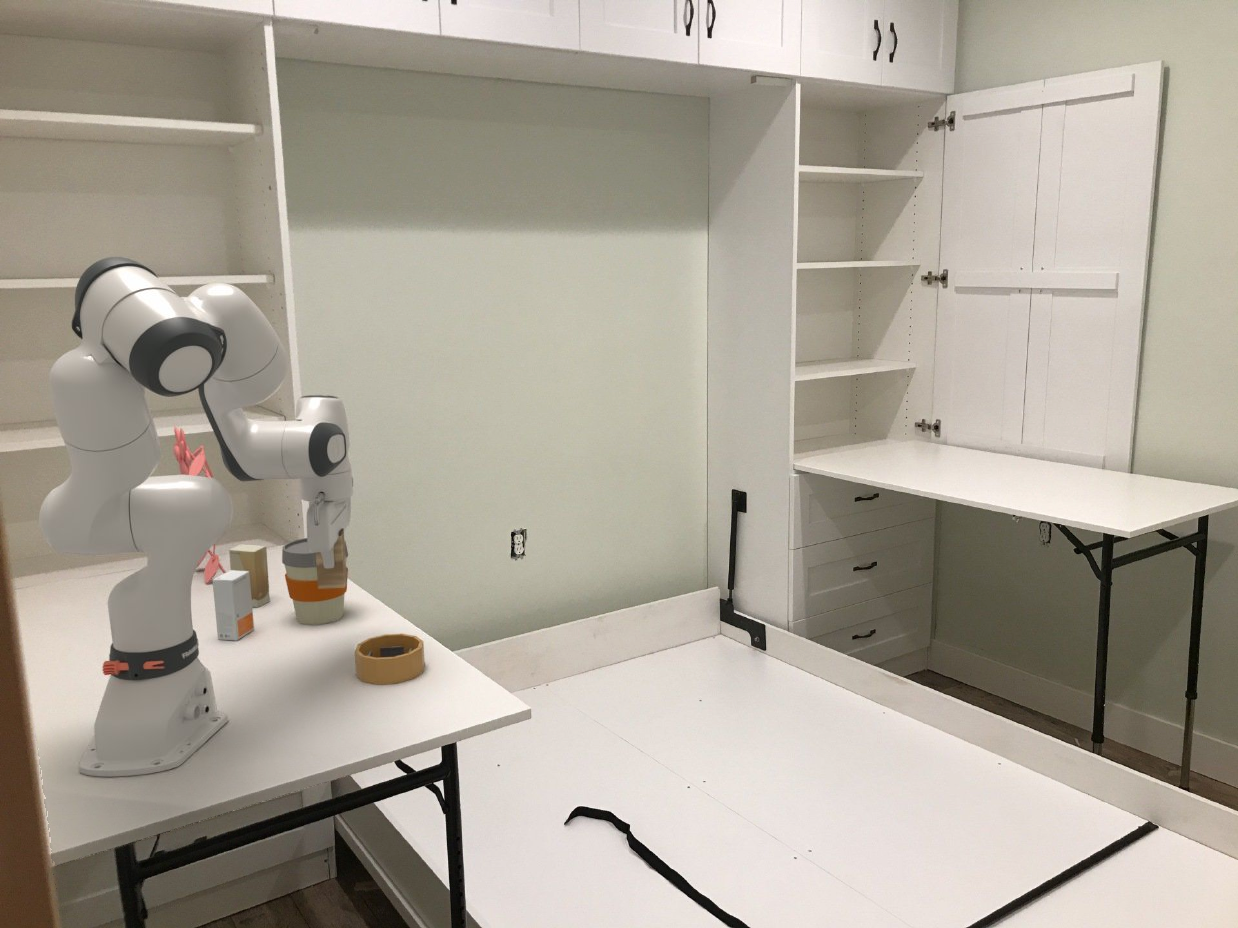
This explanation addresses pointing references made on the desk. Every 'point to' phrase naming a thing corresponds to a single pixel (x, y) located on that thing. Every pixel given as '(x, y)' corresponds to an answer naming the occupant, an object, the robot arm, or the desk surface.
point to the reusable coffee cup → (310, 586)
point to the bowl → (389, 659)
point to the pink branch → (196, 467)
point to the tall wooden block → (338, 573)
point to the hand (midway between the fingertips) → (332, 563)
